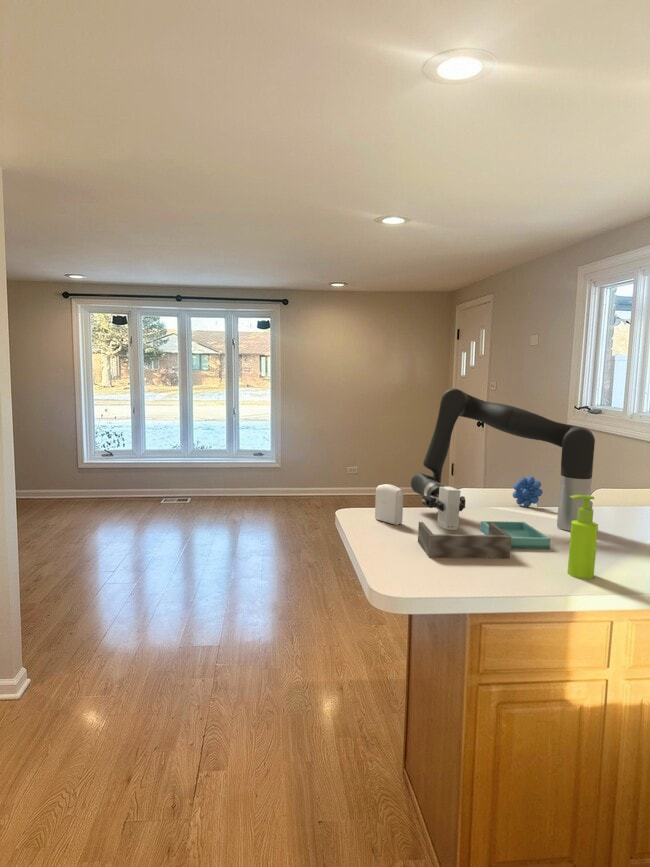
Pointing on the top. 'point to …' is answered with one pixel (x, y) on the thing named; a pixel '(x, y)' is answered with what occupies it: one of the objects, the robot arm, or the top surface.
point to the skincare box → (449, 508)
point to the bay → (465, 544)
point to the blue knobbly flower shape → (527, 491)
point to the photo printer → (389, 504)
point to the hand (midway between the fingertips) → (451, 507)
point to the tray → (520, 534)
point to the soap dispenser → (583, 541)
